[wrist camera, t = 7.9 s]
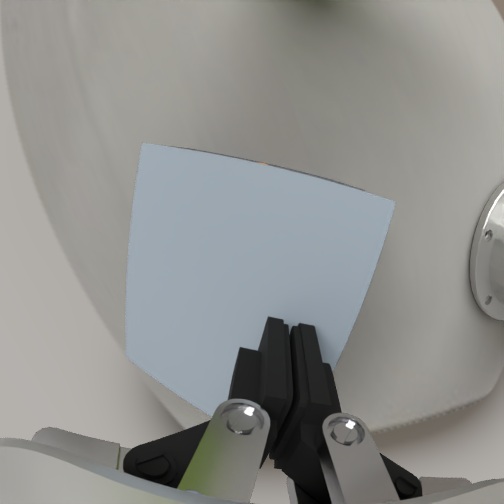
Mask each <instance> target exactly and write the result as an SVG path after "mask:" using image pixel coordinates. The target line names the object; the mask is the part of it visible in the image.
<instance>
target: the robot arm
mask: <svg viewBox="0 0 504 504" xmlns="http://www.w3.org/2000/svg"><path fill="white" fill-rule="evenodd" d="M470 281H471V287H472V292H473V295H474V297H475V300H476V302H477V303H478V305H479V307H480V308H481V309H482V310H483V311H484V312H485V313H486V314H487V315H489V316H490V317H492V318H493V319H496V320H501V321H502V320H504V183H502V184H501V185H500V186H499V187H498V188H497V189H496V191H495V192H494V193H493V194H492V196H491V197H490V199H489V201H488V202H487V204H486V205H485V208H484V210H483V212H482V214H481V217H480V219H479V222H478V225H477V228H476V231H475V234H474V239H473V244H472V248H471V258H470ZM268 454H269V458H270V459H273V460H274V461H275V462H274V463H275V464H274V468H277V469H282V471H283V472H284V473H285V474H286V475H287V476H288V477H287V487H288V493H289V498H290V503H291V504H504V479H491V480H486V481H481V482H477V483H473V484H472V483H471V482H470V481H469V480H467V479H464V478H435V477H420V478H419V479H418V478H417V477H416V476H414V475H413V474H412V473H410V472H408V471H407V470H405V469H404V468H402V467H401V466H399V465H397V464H396V463H394V462H393V461H391V460H390V459H388V458H387V457H385V456H384V455H382V454H381V453H379V451H378V449H377V447H376V445H375V443H374V440H373V438H372V436H371V434H370V432H369V429H368V428H367V426H366V425H365V423H364V422H363V421H361V420H360V419H359V418H357V417H355V416H353V415H350V414H347V413H342V412H341V408H340V403H339V399H338V394H337V390H336V386H335V382H334V377H333V373H332V369H331V366H330V364H329V363H323V361H322V356H321V352H320V347H319V342H318V338H317V334H316V329H315V326H314V325H308V324H303V323H299V324H298V326H292V328H291V331H290V334H289V325H288V324H284V320H283V319H279V318H274V317H269V316H268V318H267V320H266V324H265V327H264V331H263V334H262V338H261V341H260V345H259V348H258V351H257V350H253V349H248V348H243V347H239V351H238V355H237V359H236V363H235V367H234V371H233V375H232V380H231V385H230V390H229V395H228V400H227V401H224V402H223V403H221V404H219V406H218V407H217V408H216V410H215V412H214V414H213V416H212V418H211V420H209V421H207V422H204V423H202V424H199V425H197V426H194V427H192V428H189V429H186V430H183V431H181V432H178V433H175V434H172V435H169V436H166V437H163V438H161V439H158V440H155V441H151V442H148V443H145V444H142V445H139V446H136V447H134V448H132V449H130V448H124V447H120V444H119V443H114V442H109V441H105V440H100V439H96V438H91V437H87V436H83V435H79V434H76V433H72V432H68V431H65V430H61V429H58V428H52V427H48V428H42V429H41V430H39V431H38V432H36V433H35V435H34V436H33V438H32V440H31V441H30V440H24V439H16V438H0V504H253V503H249V502H250V499H251V495H252V492H253V489H254V485H255V481H256V478H257V474H258V471H259V469H260V468H261V467H262V465H263V463H264V461H265V459H266V457H267V455H268Z"/></svg>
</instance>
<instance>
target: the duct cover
mask: <svg viewBox="0 0 504 504" xmlns="http://www.w3.org/2000/svg"><path fill="white" fill-rule="evenodd" d="M395 204H396V202H395V201H392V200H390V199H386V198H383V197H380V196H377V195H374V194H371V193H368V192H365V191H361V190H358V189H355V188H352V187H348V186H345V185H341V184H338V183H335V182H331V181H327V180H324V179H320V178H317V177H313V176H309V175H305V174H301V173H297V172H294V171H290V170H285V169H281V168H277V167H273V166H269V165H264V164H260V163H255V162H251V161H246V160H242V159H237V158H232V157H227V156H222V155H217V154H211V153H206V152H200V151H195V150H189V149H183V148H176V147H170V146H163V145H157V144H148V143H142V147H141V153H140V159H139V165H138V171H137V178H136V184H135V192H134V199H133V207H132V216H131V226H130V236H129V248H128V263H127V282H126V357H127V358H128V359H129V360H130V361H132V362H133V363H134V364H136V365H137V366H138V367H139V368H141V369H142V370H143V371H145V372H146V373H147V374H149V375H150V376H151V377H153V378H154V379H156V380H157V381H158V382H160V383H161V384H163V385H164V386H165V387H167V388H168V389H170V390H171V391H173V392H174V393H175V394H177V395H178V396H180V397H181V398H183V399H184V400H186V401H188V402H189V403H191V404H192V405H194V406H195V407H197V408H198V409H200V410H202V411H203V412H205V413H206V414H208V415H210V416H211V417H212V416H213V414H214V412H215V410H216V408H217V407H218V406H219V404H221V403H223V402H224V401H227V400H228V395H229V390H230V385H231V380H232V375H233V371H234V367H235V363H236V359H237V355H238V351H239V347H243V348H248V349H253V350H257V351H258V348H259V345H260V341H261V338H262V334H263V331H264V327H265V324H266V320H267V318H268V316H269V317H274V318H279V319H283V320H284V324H288V325H289V334H290V331H291V328H292V326H298V324H299V323H303V324H308V325H314V326H315V329H316V334H317V338H318V342H319V347H320V352H321V356H322V361H323V363H329V364H330V366H331V369H332V372H333V370H334V368H335V366H336V364H337V362H338V360H339V357H340V355H341V353H342V351H343V349H344V346H345V344H346V342H347V340H348V337H349V335H350V333H351V330H352V328H353V326H354V323H355V321H356V318H357V316H358V313H359V311H360V308H361V306H362V303H363V301H364V298H365V296H366V293H367V290H368V288H369V285H370V282H371V279H372V277H373V274H374V271H375V268H376V265H377V262H378V259H379V256H380V253H381V250H382V247H383V244H384V241H385V238H386V235H387V231H388V228H389V225H390V221H391V218H392V214H393V211H394V207H395Z"/></svg>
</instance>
